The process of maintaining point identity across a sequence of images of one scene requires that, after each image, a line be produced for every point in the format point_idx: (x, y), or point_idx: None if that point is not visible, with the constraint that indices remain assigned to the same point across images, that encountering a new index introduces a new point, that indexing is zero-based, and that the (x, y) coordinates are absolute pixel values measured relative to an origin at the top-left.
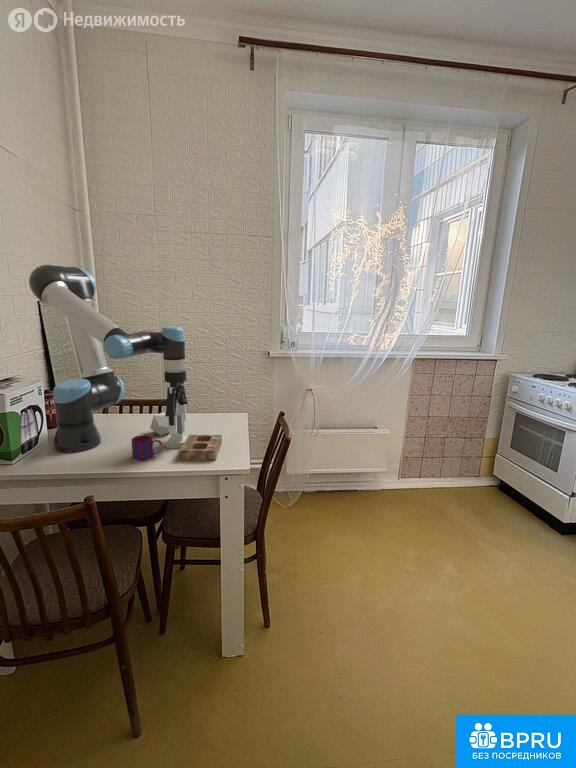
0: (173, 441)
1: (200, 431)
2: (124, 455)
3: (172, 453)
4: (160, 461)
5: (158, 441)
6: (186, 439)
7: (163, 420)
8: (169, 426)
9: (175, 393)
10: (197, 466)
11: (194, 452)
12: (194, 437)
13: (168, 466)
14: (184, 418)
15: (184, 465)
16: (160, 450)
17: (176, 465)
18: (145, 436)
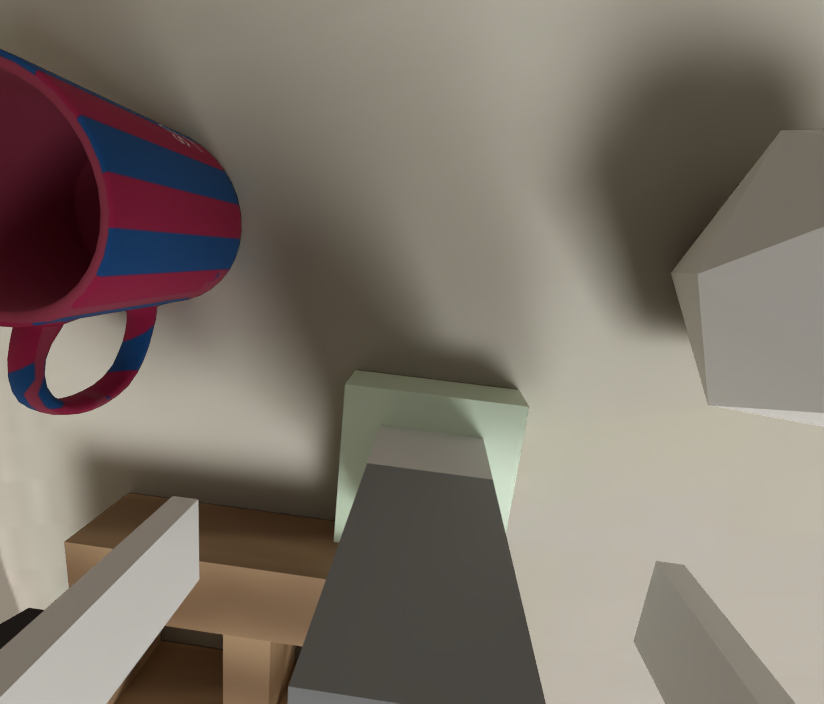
0: (370, 445)
1: (717, 601)
2: (191, 27)
3: (243, 431)
4: (97, 367)
5: (15, 395)
6: (310, 578)
7: (796, 340)
8: (99, 576)
9: None
10: (50, 596)
11: None
12: None
13: (26, 432)
14: (659, 672)
15: (54, 525)
16: (101, 380)
17: (48, 479)
18: (108, 213)
